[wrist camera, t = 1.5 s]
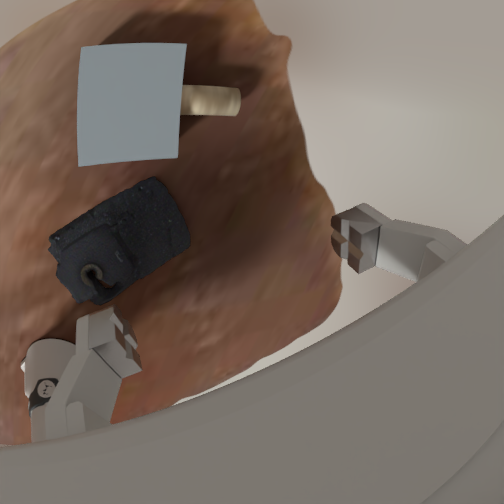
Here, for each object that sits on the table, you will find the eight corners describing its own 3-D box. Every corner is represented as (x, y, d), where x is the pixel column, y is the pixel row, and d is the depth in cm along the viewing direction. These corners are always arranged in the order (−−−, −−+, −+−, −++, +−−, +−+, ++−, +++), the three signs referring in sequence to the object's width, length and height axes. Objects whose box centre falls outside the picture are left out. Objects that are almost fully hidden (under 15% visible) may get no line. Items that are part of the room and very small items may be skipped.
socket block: (168, 147, 38) (177, 157, 33) (84, 154, 34) (78, 166, 28) (175, 51, 32) (186, 43, 26) (87, 55, 27) (81, 47, 21)
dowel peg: (228, 114, 38) (239, 117, 35) (142, 114, 33) (144, 116, 30) (231, 87, 36) (242, 88, 33) (143, 85, 31) (146, 84, 28)
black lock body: (198, 246, 49) (206, 261, 46) (92, 306, 46) (92, 324, 42) (158, 167, 40) (163, 176, 36) (39, 241, 36) (33, 256, 33)
